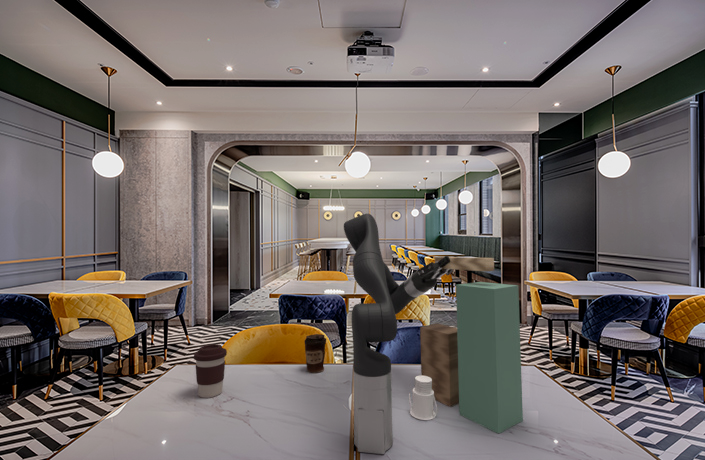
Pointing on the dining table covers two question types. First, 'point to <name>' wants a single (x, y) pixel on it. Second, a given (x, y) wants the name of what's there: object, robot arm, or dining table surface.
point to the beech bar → (469, 263)
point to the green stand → (489, 354)
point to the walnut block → (441, 361)
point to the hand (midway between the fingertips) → (453, 258)
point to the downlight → (423, 399)
